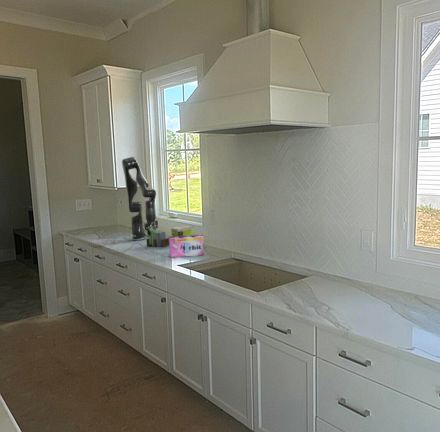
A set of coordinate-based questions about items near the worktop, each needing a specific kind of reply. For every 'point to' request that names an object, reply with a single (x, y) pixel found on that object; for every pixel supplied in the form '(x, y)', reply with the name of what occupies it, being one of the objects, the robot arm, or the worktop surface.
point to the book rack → (164, 243)
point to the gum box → (186, 245)
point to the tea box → (182, 231)
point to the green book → (150, 236)
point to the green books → (154, 235)
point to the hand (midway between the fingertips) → (151, 234)
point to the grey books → (160, 238)
